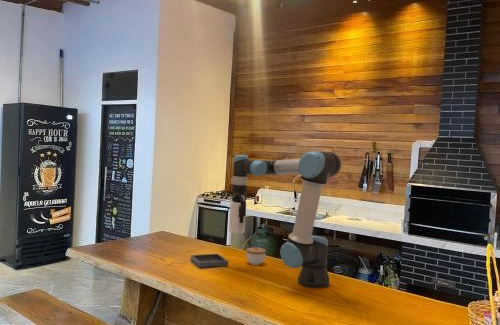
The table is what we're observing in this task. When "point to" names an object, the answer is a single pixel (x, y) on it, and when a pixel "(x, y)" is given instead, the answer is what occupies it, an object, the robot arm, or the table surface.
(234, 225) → the cup
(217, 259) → the square metal tray
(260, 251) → the lidded jar
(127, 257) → the table surface
